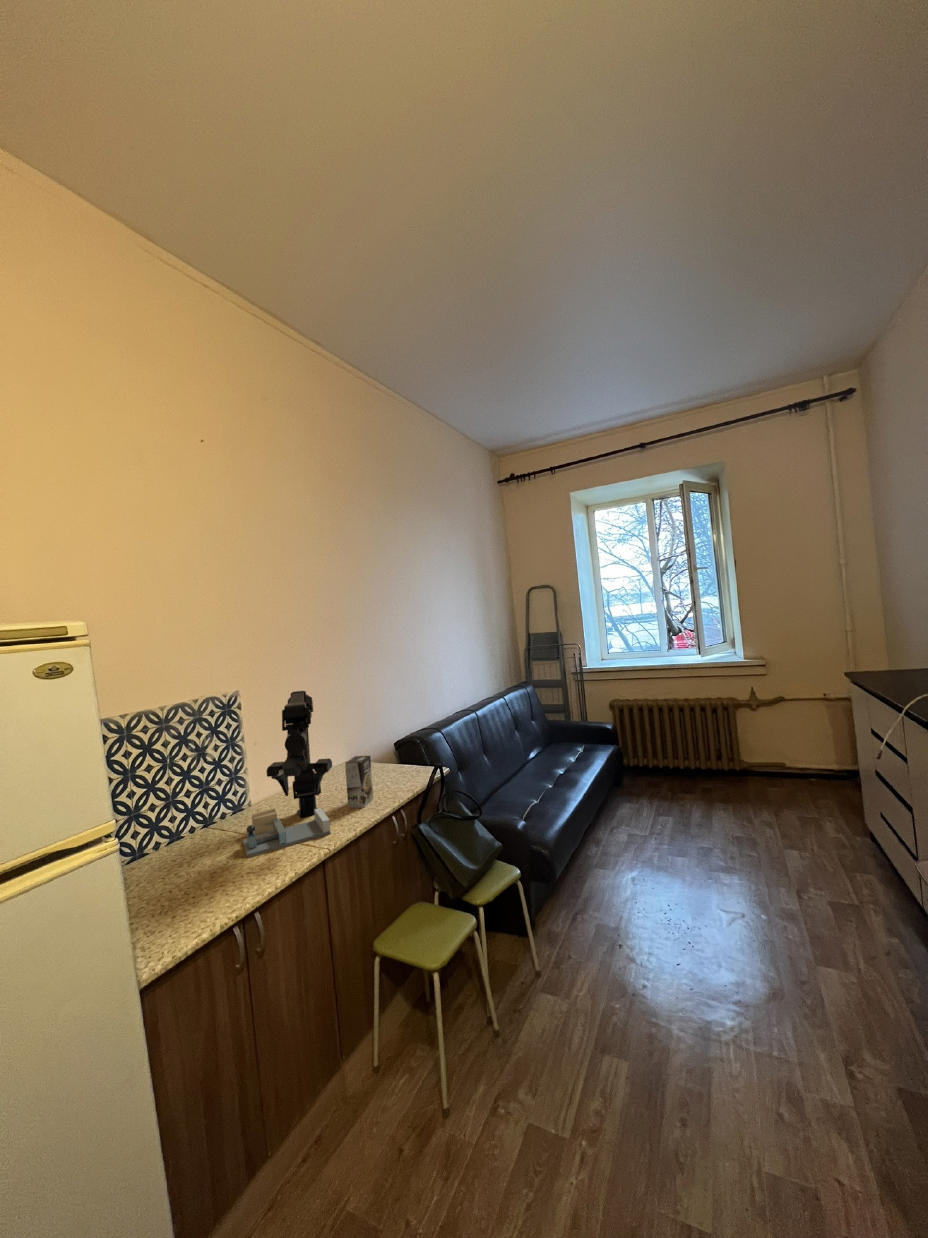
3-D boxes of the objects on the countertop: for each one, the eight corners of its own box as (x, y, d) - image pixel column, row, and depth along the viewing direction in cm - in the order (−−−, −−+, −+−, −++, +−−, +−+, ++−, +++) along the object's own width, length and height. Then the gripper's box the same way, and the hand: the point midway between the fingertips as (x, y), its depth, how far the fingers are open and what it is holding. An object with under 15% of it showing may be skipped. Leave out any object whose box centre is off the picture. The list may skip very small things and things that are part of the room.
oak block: (252, 832, 156) (251, 814, 156) (275, 826, 160) (274, 808, 160) (254, 838, 152) (253, 819, 152) (278, 831, 155) (276, 813, 155)
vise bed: (243, 842, 149) (241, 828, 149) (321, 821, 161) (320, 808, 161) (247, 858, 138) (245, 842, 138) (330, 834, 150) (329, 819, 150)
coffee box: (364, 808, 170) (360, 762, 170) (347, 808, 171) (344, 762, 171) (374, 798, 179) (371, 755, 179) (358, 798, 180) (355, 755, 180)
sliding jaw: (245, 837, 149) (244, 819, 149) (280, 828, 154) (278, 811, 154) (249, 852, 139) (248, 833, 139) (286, 842, 144) (285, 823, 144)
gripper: (256, 755, 140) (261, 807, 141) (320, 750, 140) (324, 803, 141) (272, 744, 152) (275, 793, 152) (330, 740, 152) (334, 789, 152)
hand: (302, 794), depth 149 cm, fingers open, 9 cm apart
